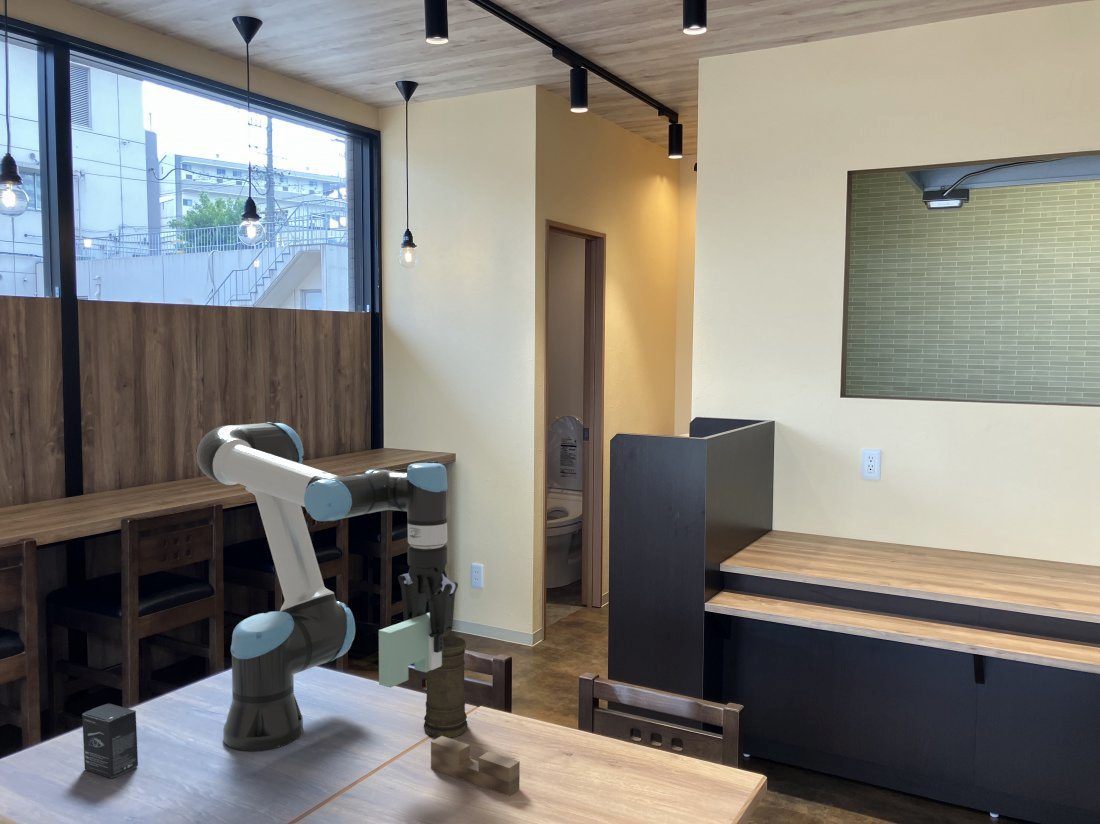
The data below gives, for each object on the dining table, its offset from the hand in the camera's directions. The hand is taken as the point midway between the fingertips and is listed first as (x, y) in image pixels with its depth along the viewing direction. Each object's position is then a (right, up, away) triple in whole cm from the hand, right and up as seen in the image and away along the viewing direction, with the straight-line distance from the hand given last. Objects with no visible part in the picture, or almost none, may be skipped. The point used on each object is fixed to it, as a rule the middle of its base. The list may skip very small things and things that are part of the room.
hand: (427, 665), depth 162 cm
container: (+2, -16, +11) cm, 20 cm away
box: (-57, -17, -7) cm, 60 cm away
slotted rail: (+10, -17, -10) cm, 22 cm away
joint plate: (-2, -1, -4) cm, 5 cm away
